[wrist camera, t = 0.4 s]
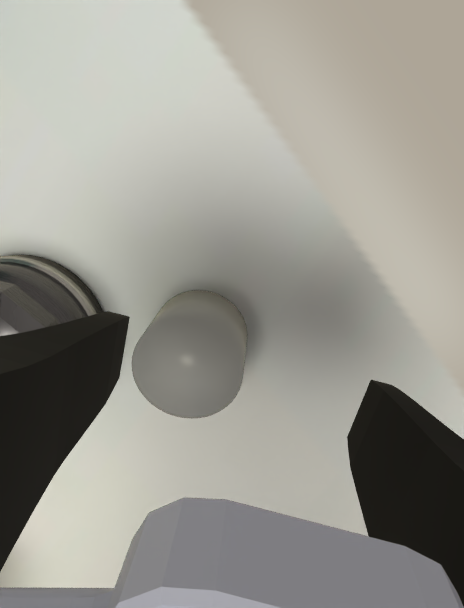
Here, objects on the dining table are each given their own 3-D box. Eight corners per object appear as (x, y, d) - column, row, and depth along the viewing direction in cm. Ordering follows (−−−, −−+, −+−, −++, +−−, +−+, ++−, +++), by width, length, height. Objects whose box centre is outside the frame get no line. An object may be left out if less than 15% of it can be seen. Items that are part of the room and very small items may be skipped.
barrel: (100, 409, 24) (60, 470, 19) (-40, 374, 24) (-115, 427, 19) (119, 274, 21) (77, 307, 17) (-40, 234, 21) (-128, 256, 17)
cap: (235, 385, 23) (228, 429, 19) (148, 363, 23) (124, 403, 19) (257, 303, 21) (255, 334, 17) (163, 279, 21) (140, 305, 17)
